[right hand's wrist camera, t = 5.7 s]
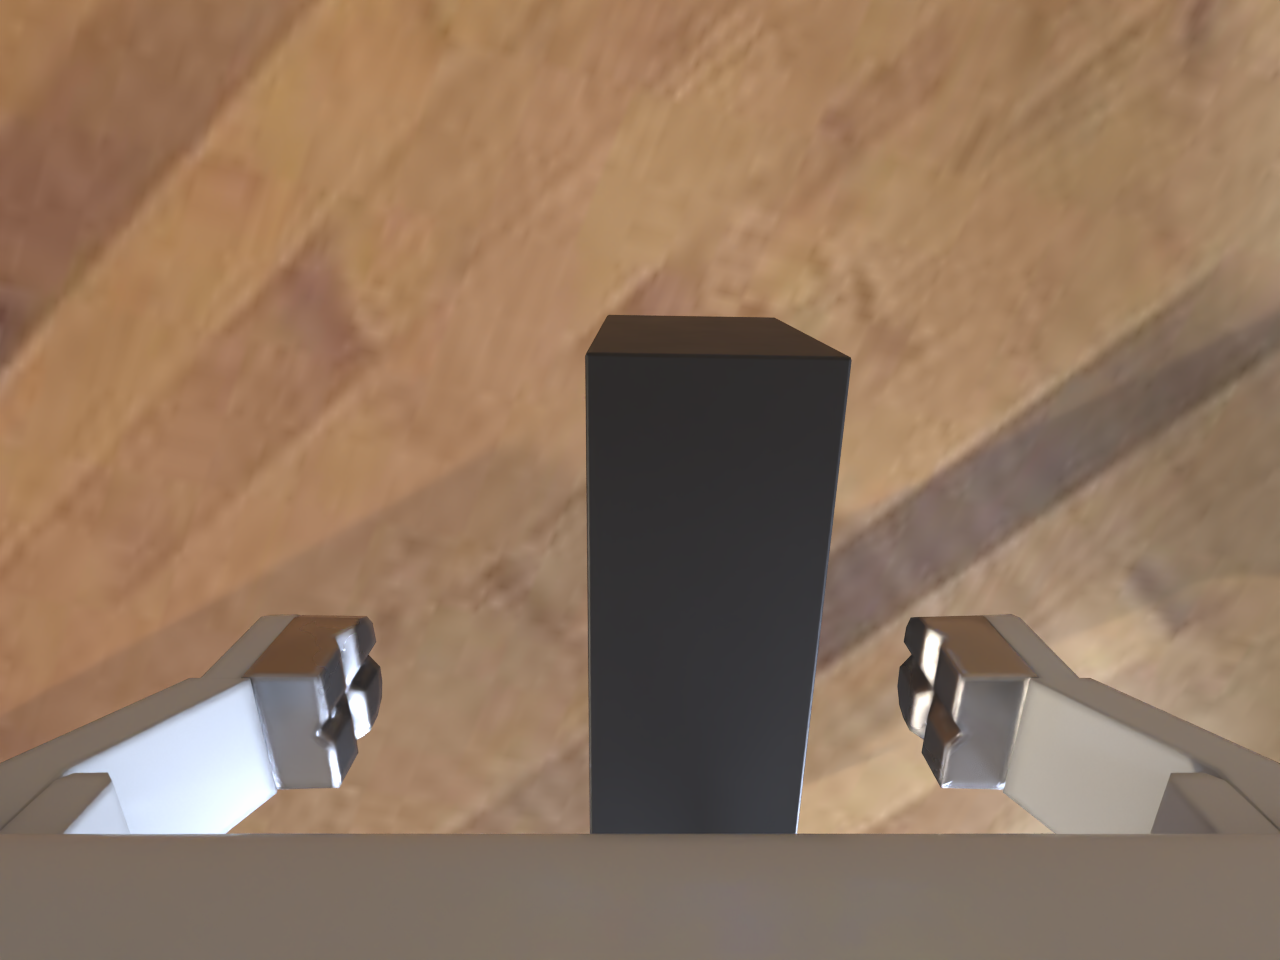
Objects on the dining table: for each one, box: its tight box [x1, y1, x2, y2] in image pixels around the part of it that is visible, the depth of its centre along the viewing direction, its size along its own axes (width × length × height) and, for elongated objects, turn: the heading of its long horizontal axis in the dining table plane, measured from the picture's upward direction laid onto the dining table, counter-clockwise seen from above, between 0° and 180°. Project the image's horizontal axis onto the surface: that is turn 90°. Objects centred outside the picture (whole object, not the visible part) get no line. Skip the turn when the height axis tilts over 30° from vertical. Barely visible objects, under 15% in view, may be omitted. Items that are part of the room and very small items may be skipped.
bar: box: [585, 315, 851, 834], centre depth 21 cm, size 28×5×8 cm, turn 179°
